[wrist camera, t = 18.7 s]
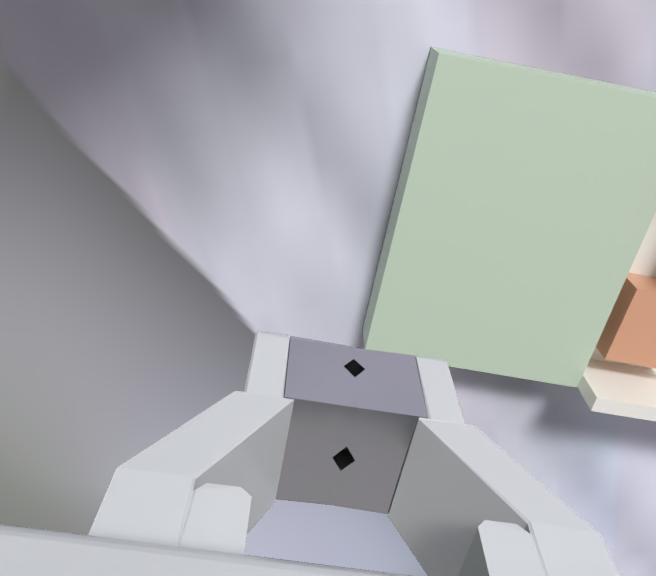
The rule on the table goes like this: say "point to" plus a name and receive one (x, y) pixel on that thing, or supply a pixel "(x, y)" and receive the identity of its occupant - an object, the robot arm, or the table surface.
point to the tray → (622, 378)
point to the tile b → (632, 324)
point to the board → (513, 218)
